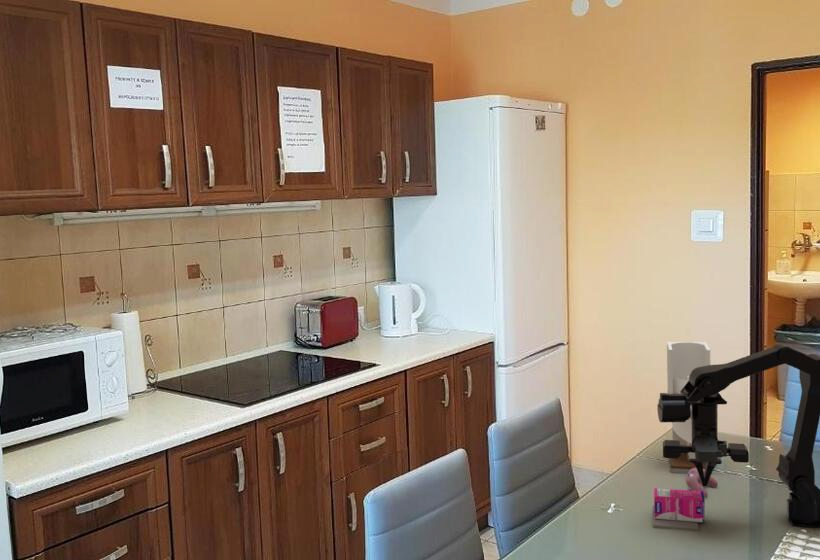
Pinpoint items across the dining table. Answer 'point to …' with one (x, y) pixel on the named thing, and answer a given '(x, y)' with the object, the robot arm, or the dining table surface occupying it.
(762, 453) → the dining table surface
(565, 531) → the dining table surface
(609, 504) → the dining table surface
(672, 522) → the rubber mat
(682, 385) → the display case
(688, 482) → the video game controller
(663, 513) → the supplement box
